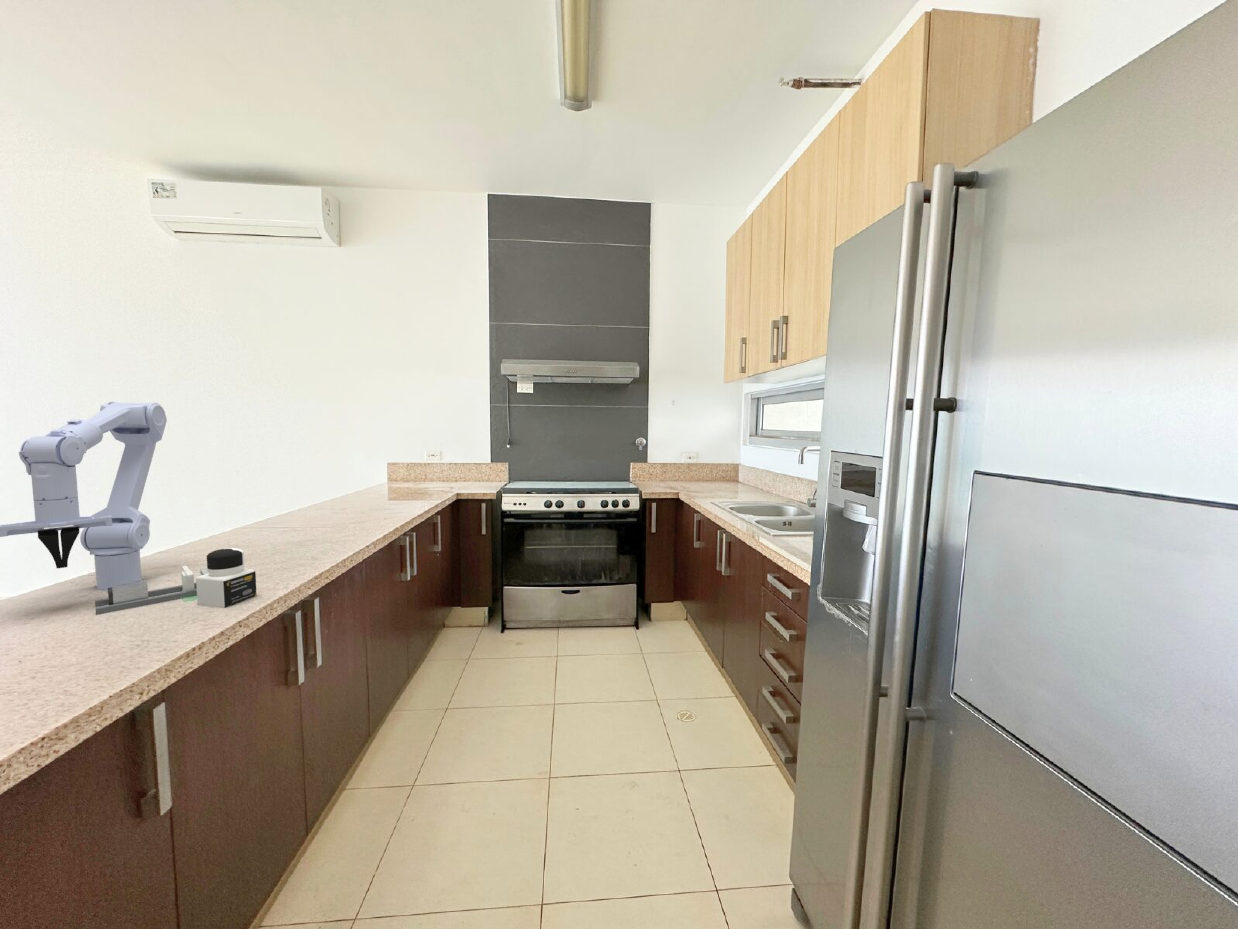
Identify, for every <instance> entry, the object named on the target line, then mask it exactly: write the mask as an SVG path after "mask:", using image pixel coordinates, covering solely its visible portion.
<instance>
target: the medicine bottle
mask: <svg viewBox="0 0 1238 929" xmlns="http://www.w3.org/2000/svg"><path fill="white" fill-rule="evenodd" d="M244 552H245V551H244V550H243V549H241V548H236V547H230V548H220V549H216V550H214V551H213V550H212V551H211V552H209V553H208V554H207V555H206V566H207V571H208V574H205V575H201V574H200V575H199V576H196V577H195V581H196V582H195V583H196V586H197V599H196V600H197V601H196V602H197V605H198V606H203V607H205V606H207V607H213V608H214V607H215V608H223V609H224V608H229V607H232V606H234V605H237V604H239V603H242V602H245V601H248V600H250V599H253V598H256V597H257V596H258V594H257V577H256V574H257V573H256V569H250V568H245V555H244Z"/></svg>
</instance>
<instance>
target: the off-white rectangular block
mask: <svg viewBox="0 0 1238 929" xmlns="http://www.w3.org/2000/svg"><path fill="white" fill-rule="evenodd" d="M181 570H182V571H181V572H180V573H181V585H182V592H184V591H190V590H195V589H194V583H195V576H194V573H193V572H192V570H191V569H189V567H188V566H187V565H183V566H181Z"/></svg>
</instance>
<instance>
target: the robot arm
mask: <svg viewBox="0 0 1238 929" xmlns="http://www.w3.org/2000/svg"><path fill="white" fill-rule="evenodd" d="M167 421H168V420H167V416H166V412H165V410H164V408H163V406H161V404H160V403H158V402H149V403H148V402H115V401H108V402H105V403H104V404H101V405H100V409H99V412H97V413H95V414H94V415H93V416H91V417H90V418H88V419H87V420H85V419H75V418H74V419H73V418H72V419H69V420H67V421H66V424H65V425H63V426H61V427H59V428H57V429H56V428H53V429H52V430H50V431H49V432H50V433H47V434H46V435H44V436H43V435H42V436H40V435H39V436H32V437H30V438H28V439H26V440H24V441H23V442H22V444H21V447H20V451H18V455H19V459H20V460H21V462H22V463H23V465H25V472H26V473H27V475H29V476H31V477H30V478H31V486H32V499H33V509H34V518H35V520H34V521H27V522H26V521H25V522H16V523H9V524H8V523H7V524H0V538H3V537H9V536H18V535H26V534H36V533H37V539H39V541H40V542H41V543H42V544H43V545H44V547H45V548H46V550H48V552H49V553H50V555H51V557H52V559H53V560H54V564H55V567H56V569H64V568H68V564H69V563H68V561H69V556H70V554H71V550H72V549H73V546H74V543H75V542H76V540H77V538H78V537H79V535H80V544H81V546H82V548H84V550H86V551H88V552H89V555H91V556H92V555H93V556H94V557H93V558H94V569H95V581H96V589H97V591H98V590H99V591H108V588H110V587H112V585H115V584H121V583H127V582H133V581H140V580H143V578H142V576H143V575H142V564H141V552H140V550H142V549H144V547H145V546H146V545H147V544H148V542H149V540H150V535H151V533H150V525H151V524H150V523H151V520H150V517H148V516H147V515H146V514H144V513H143V512H141V511H140V510H139V508H140V504H141V500H142V498H143V497H142V496H143V493H144V489H145V486H146V483H147V478H148V475H149V471H150V468H151V465H152V461H153V457H154V453H155V450H156V446H157V443H158V442H160V441H161V440H162V439H163V435H164V432H165V428H166V425H167ZM108 432H110V434H111V436H112V437H113V439H114V440H116V441H118V442H121V443H123V444H124V448H123V451H122V455H121V457H120V458H121V459H120V462H119V464H118V469H117V473H116V474H115V475H116V476H115V479H114V482H113V485H112V488H111V492H110V495H109V498H108V501H107V505H106V507H105V508H103V509H101V510H99V511H98V512H96V513H93V514H92V515H90V516H80V505H79V503H80V502H79V492H78V480H77V478H78V477H77V466H76V465H79V464H81V462H82V461H83V457H84V456H85V454H86V453H87V451H88V450H90V449H92V448H93V447H95V446H97V445H99V443H101V442H102V441H103V438H104V434H105V433H108ZM80 529H82V531H81V532H80ZM59 531H60V532H59ZM59 534H60V537H59ZM59 538H60V540H59ZM60 544H61V549H60ZM60 550H61V551H60Z"/></svg>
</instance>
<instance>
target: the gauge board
mask: <svg viewBox="0 0 1238 929" xmlns="http://www.w3.org/2000/svg"><path fill="white" fill-rule="evenodd" d="M199 573H200V576H201V575H205V574H208V571H207V568H202V569H201V568H200V572H199ZM176 600H177V601H178V600H182V601H183V602H184V603H185V602H189V601H195V600H197V586H196V582H194V590H190V591H184V592H182V584H181V585H174V586H168V587H164V588H158V589H153V590H148V598H146V599H141V600H135V601H130V602H124V603H119V604H114V605H109V600H108V597H107V598H101V599H96V600H94V604H95V606H94V607H95V615H96V616H97V615H98V616H99V615H102V614H103V615H104V614H108V613H114V612H119V611H123V610H124V611H125V610H129V609H133V608H140V607H145V606H151V605H154V604H155V605H156V604H161V603H166V602H171V601H176Z"/></svg>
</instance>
